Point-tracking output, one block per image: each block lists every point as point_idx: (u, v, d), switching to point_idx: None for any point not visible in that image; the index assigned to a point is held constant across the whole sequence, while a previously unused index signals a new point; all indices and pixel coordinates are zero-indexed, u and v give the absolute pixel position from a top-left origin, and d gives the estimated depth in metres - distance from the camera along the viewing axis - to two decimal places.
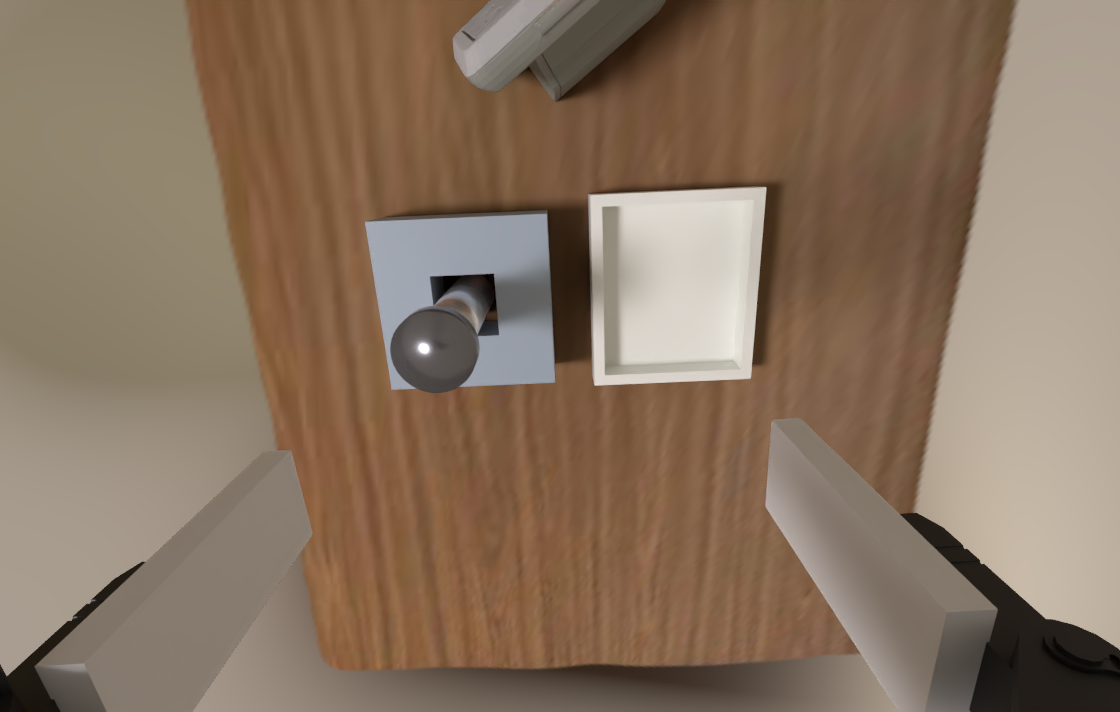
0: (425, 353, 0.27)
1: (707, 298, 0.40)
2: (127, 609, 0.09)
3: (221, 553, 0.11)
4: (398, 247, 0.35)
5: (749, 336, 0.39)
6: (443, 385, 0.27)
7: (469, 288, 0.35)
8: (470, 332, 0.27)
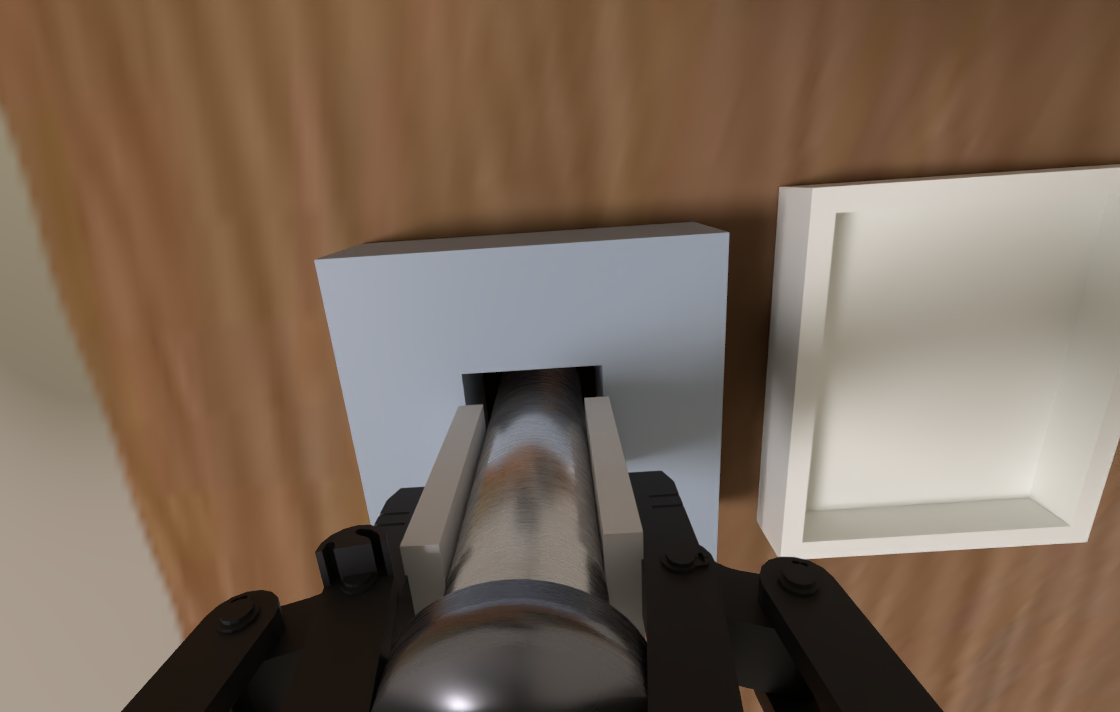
0: None
1: (1000, 387, 0.20)
2: (440, 511, 0.11)
3: (468, 480, 0.13)
4: (392, 313, 0.16)
5: (1101, 466, 0.19)
6: None
7: (553, 404, 0.15)
8: None
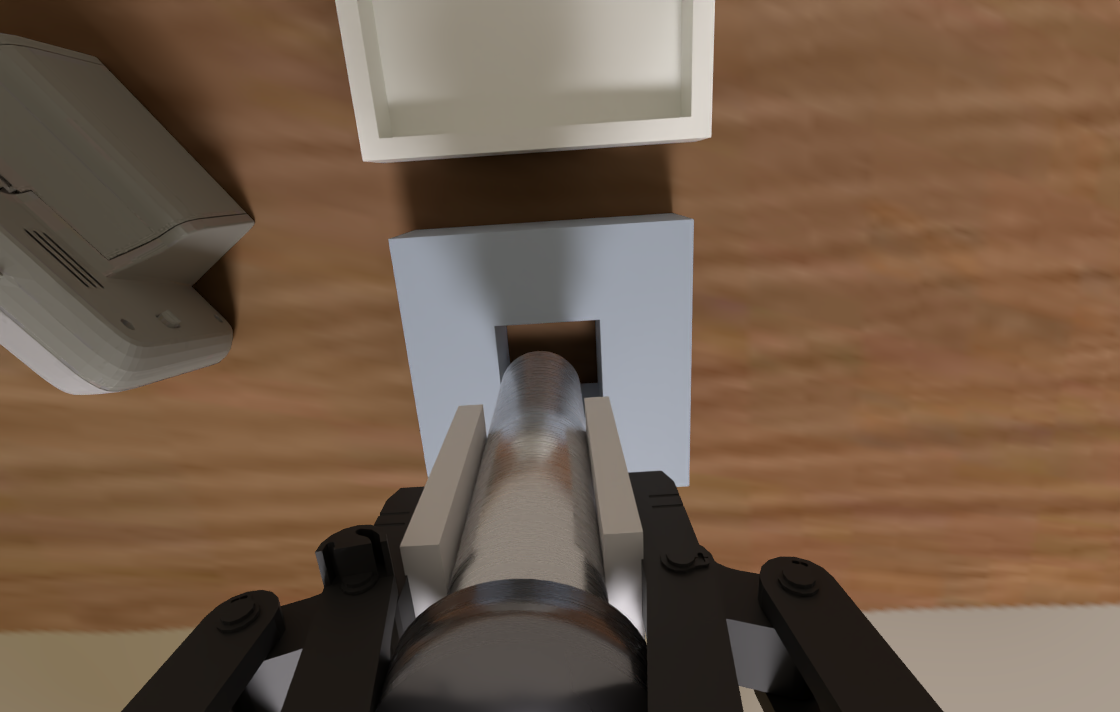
0: None
1: None
2: (440, 511, 0.11)
3: (468, 480, 0.13)
4: None
5: None
6: None
7: (541, 404, 0.16)
8: (630, 669, 0.07)
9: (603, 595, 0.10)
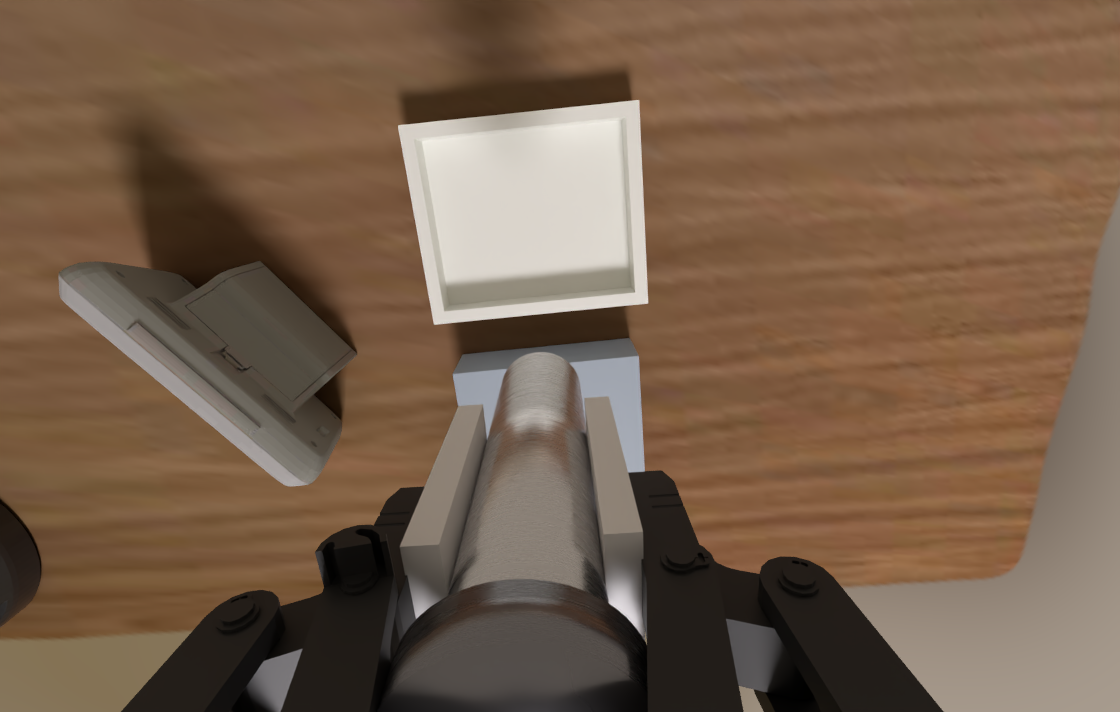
0: None
1: (541, 167, 0.33)
2: (440, 511, 0.11)
3: (468, 481, 0.13)
4: None
5: (580, 112, 0.30)
6: None
7: (541, 405, 0.16)
8: (630, 668, 0.07)
9: (603, 595, 0.10)
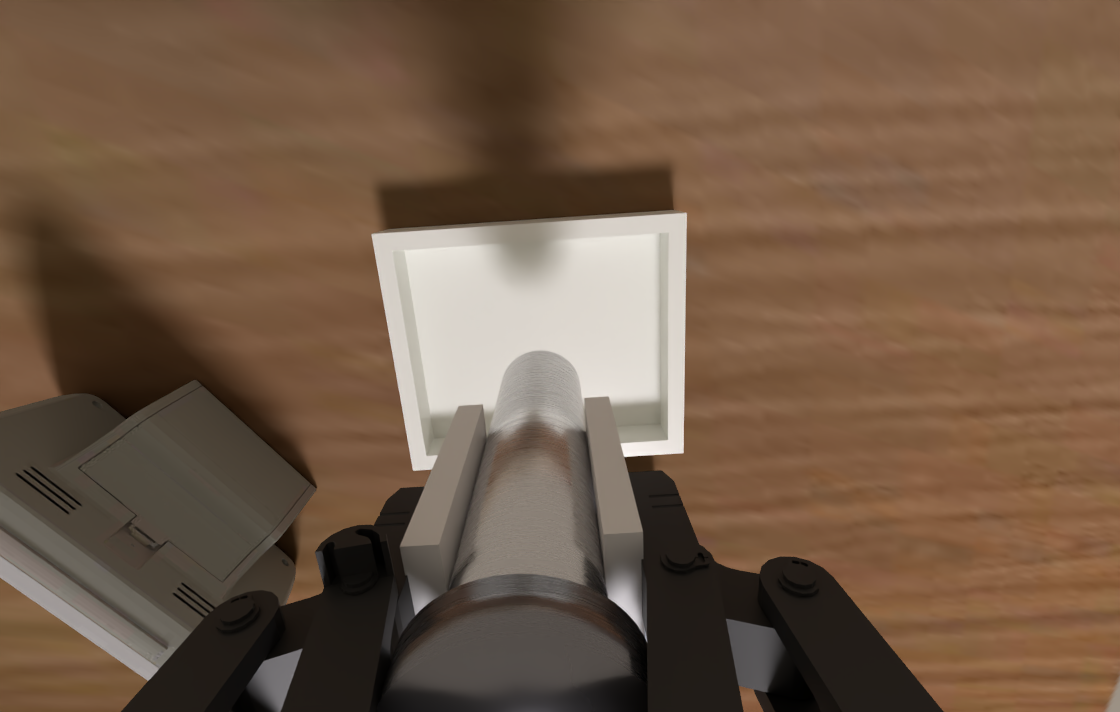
0: None
1: (555, 282, 0.26)
2: (440, 511, 0.11)
3: (467, 481, 0.13)
4: None
5: (610, 226, 0.23)
6: None
7: (541, 403, 0.16)
8: (629, 663, 0.07)
9: (602, 591, 0.10)
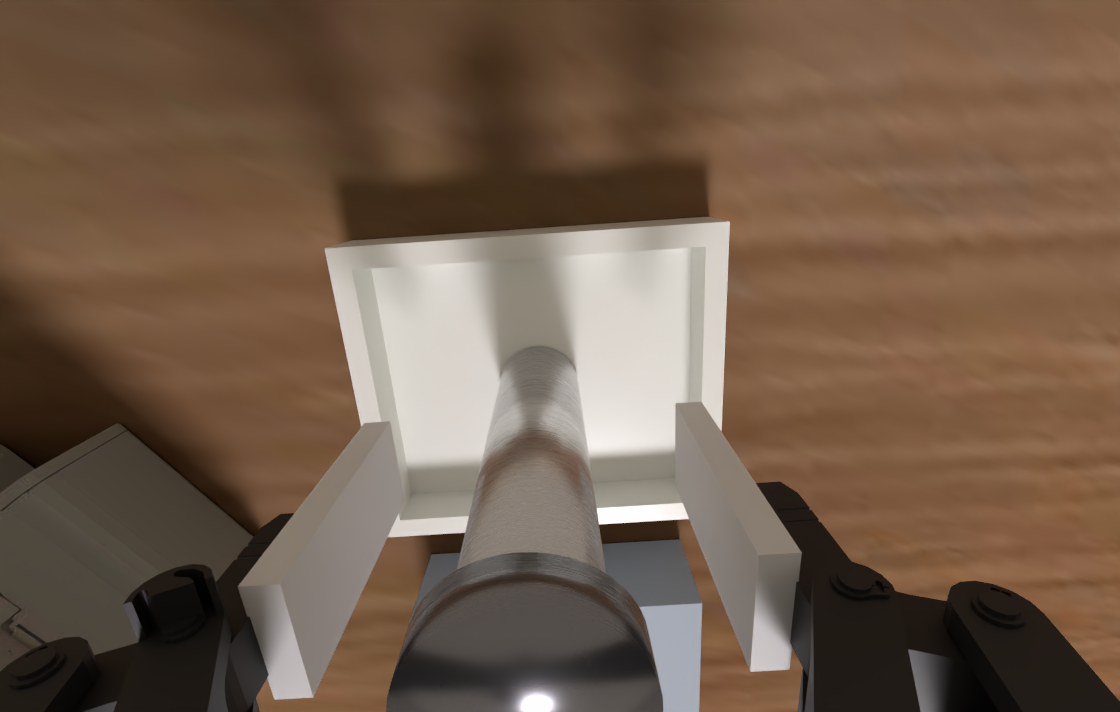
0: None
1: (560, 306, 0.21)
2: (297, 545, 0.10)
3: (351, 506, 0.12)
4: None
5: (631, 238, 0.18)
6: None
7: (541, 396, 0.16)
8: (627, 631, 0.08)
9: (601, 570, 0.10)
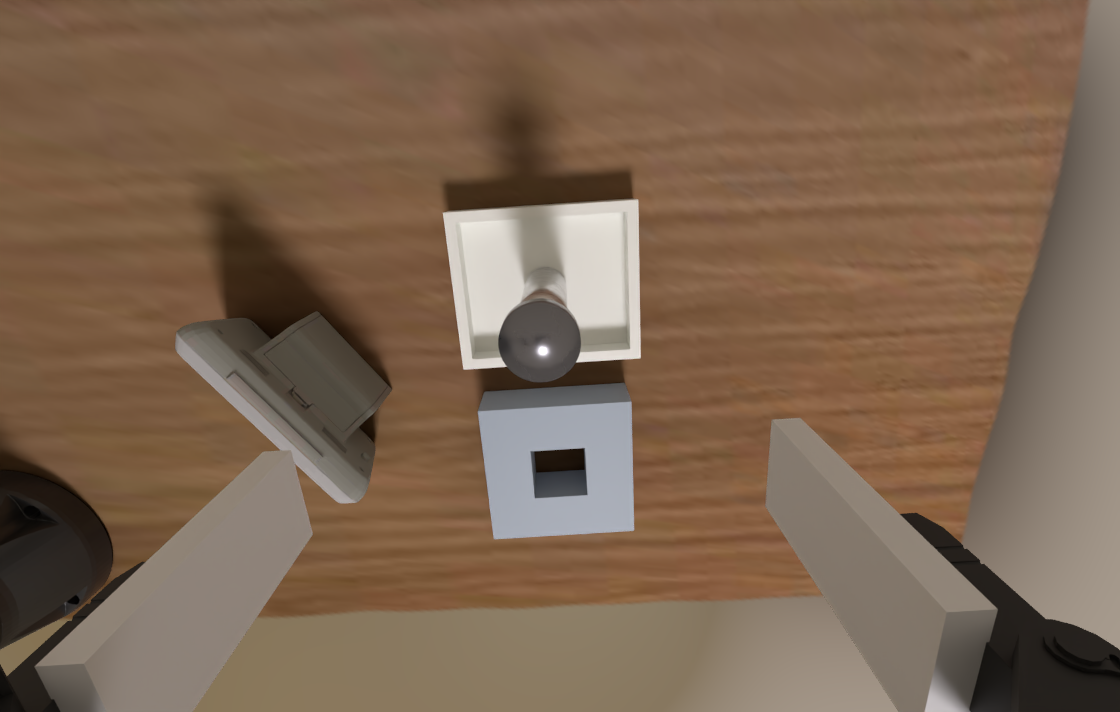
0: (532, 346, 0.28)
1: (557, 245, 0.40)
2: (127, 609, 0.09)
3: (221, 554, 0.11)
4: (512, 518, 0.44)
5: (590, 207, 0.37)
6: (555, 372, 0.28)
7: (545, 280, 0.36)
8: (569, 315, 0.27)
9: None
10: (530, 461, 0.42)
